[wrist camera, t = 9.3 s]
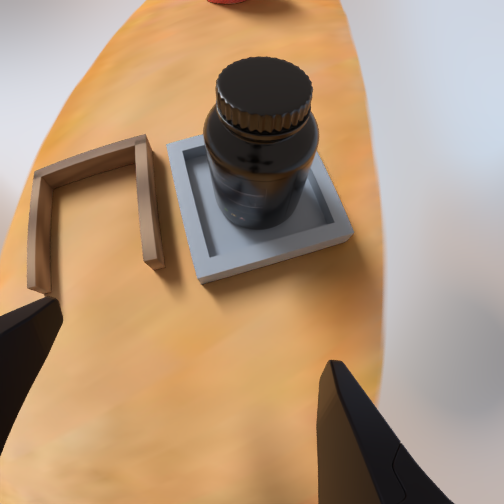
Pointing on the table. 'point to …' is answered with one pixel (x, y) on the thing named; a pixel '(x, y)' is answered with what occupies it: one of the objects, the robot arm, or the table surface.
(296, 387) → the table surface
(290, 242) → the tray
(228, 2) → the flower pot
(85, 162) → the cradle
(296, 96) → the supplement bottle
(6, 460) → the table surface
